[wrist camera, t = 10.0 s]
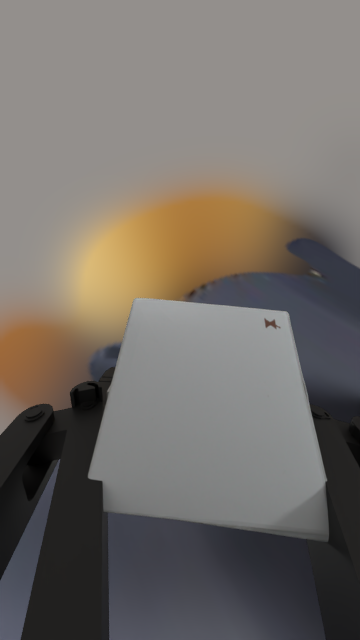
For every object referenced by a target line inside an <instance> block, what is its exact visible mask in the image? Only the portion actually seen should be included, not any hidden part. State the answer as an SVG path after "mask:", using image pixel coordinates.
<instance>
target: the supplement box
mask: <svg viewBox="0 0 360 640" xmlns="http://www.w3.org/2000/svg"><path fill="white" fill-rule="evenodd" d="M88 478H89V479H93V480H100V481H102V482H103V510H104V512H110V513H120V514H129V515H138V516H148V517H157V518H166V519H175V520H181V521H188V522H194V523H201V524H208V525H215V526H222V527H228V528H235V529H242V530H249V531H256V532H262V533H269V534H275V535H282V536H289V537H296V538H302V539H309V540H316V541H322V542H328V539H329V522H328V507H327V496H326V484H325V481H327V478H326V475H325V471H324V466H323V462H322V457H321V453H320V448H319V444H318V440H317V435H316V431H315V427H314V423H313V419H312V414H311V410H310V405H309V401H308V394H307V390H306V386H305V382H304V379H303V375H302V371H301V367H300V363H299V359H298V354H297V350H296V346H295V341H294V337H293V332H292V328H291V324H290V317H289V314H288V313H287V312H286V311H274V310H264V309H255V308H244V307H233V306H223V305H212V304H202V303H192V302H181V301H169V300H160V299H149V298H135V299H134V301H133V304H132V307H131V311H130V315H129V318H128V322H127V326H126V329H125V333H124V337H123V341H122V345H121V348H120V352H119V356H118V360H117V364H116V368H115V371H114V375H113V379H112V383H111V387H110V391H109V394H108V398H107V402H106V406H105V410H104V414H103V418H102V422H101V426H100V430H99V433H98V437H97V441H96V445H95V449H94V453H93V457H92V461H91V465H90V469H89V473H88Z"/></svg>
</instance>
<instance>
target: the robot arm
mask: <svg viewBox="0 0 360 640" xmlns="http://www.w3.org/2000/svg"><path fill="white" fill-rule="evenodd" d="M115 368H116V367H111V368H110V369H108V370H107V371H105V373H104V374H103V376H102V378H100V380H99V382H95V381H87V382H84V383H81V384H79V385H77V386H75V387H74V388H73V389H72V390H71V392H70V396H71V403H72V408H68V409H64V410H59V411H53V408H52V406H51V405H49V404H40V405H35V406H33V407H30V408H28V409H26V410H25V411H23V412H22V413H21V414H19V415H18V416H17V417H16V418H15V420H14V421H13V422H12V423H11V424H10V425H9V426H8V427H7V429H6V430H5V431H4V432H3V433H2V434H1V435H0V580H1V578H2V576H3V573H4V571H5V569H6V567H7V565H8V563H9V561H10V559H11V557H12V555H13V553H14V551H15V549H16V547H17V545H18V543H19V540H20V538H21V536H22V534H23V532H24V530H25V528H26V526H27V524H28V522H29V520H30V518H31V516H32V514H33V512H34V510H35V507H36V505H37V503H38V501H39V499H40V497H41V495H42V493H43V491H44V489H45V487H46V485H47V483H48V481H49V479H50V477H51V474H52V472H53V470H54V468H55V466H56V464H57V462H58V460H59V459H61V460H60V465H59V469H58V474H57V478H56V483H55V487H54V492H53V496H52V501H51V505H50V510H49V514H48V519H47V523H46V528H45V532H44V537H43V541H42V546H41V550H40V555H39V559H38V564H37V569H36V573H35V578H34V582H33V587H32V591H31V596H30V600H29V605H28V609H27V614H26V618H25V623H24V627H23V632H22V636H21V640H109V586H108V512H104V510H103V482H102V481H100V480H93V479H89V478H88V473H89V469H90V465H91V461H92V457H93V453H94V449H95V445H96V441H97V437H98V433H99V430H100V426H101V422H102V418H103V414H104V410H105V406H106V402H107V398H108V394H109V391H110V387H111V383H112V379H113V375H114V371H115ZM309 405H310V410H311V414H312V419H313V423H314V427H315V431H316V435H317V440H318V444H319V448H320V453H321V457H322V462H323V466H324V471H325V475H326V478H327V481H325V484H326V496H327V507H328V522H329V539H328V542H322V541H316V540H309V539H307V544H308V549H309V554H310V559H311V564H312V570H313V575H314V580H315V585H316V590H317V595H318V600H319V605H320V611H321V616H322V621H323V626H324V631H325V636H326V640H360V416H355V417H353V418H352V420H351V422H350V423H346V422H342V421H339V420H335V419H333V418H332V416H331V415H330V414H329V413H328V412H326V411H325V410H323V409H322V408H320V407H318V406H315V405H311V404H309Z"/></svg>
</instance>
